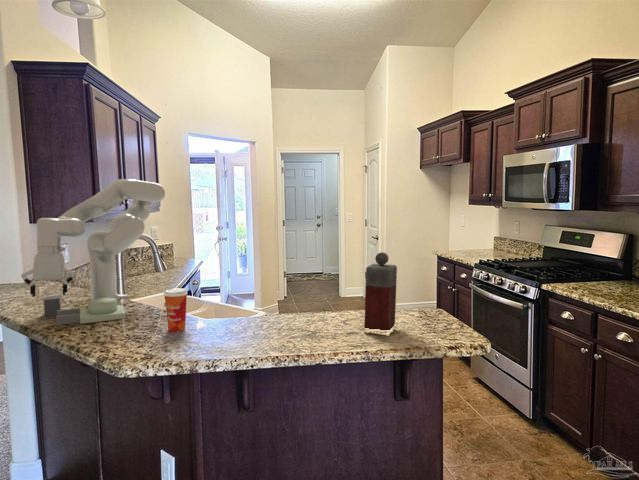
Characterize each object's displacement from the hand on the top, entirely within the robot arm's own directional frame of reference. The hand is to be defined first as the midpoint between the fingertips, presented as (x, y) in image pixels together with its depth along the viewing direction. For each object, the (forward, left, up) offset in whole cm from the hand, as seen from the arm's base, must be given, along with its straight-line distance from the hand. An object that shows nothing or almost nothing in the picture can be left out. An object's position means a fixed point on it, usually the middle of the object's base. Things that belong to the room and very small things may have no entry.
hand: (49, 295), depth 158 cm
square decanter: (-102, +73, -8) cm, 126 cm away
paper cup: (-39, +40, -8) cm, 56 cm away
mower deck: (-14, +10, -8) cm, 19 cm away
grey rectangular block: (-1, 0, -8) cm, 8 cm away
